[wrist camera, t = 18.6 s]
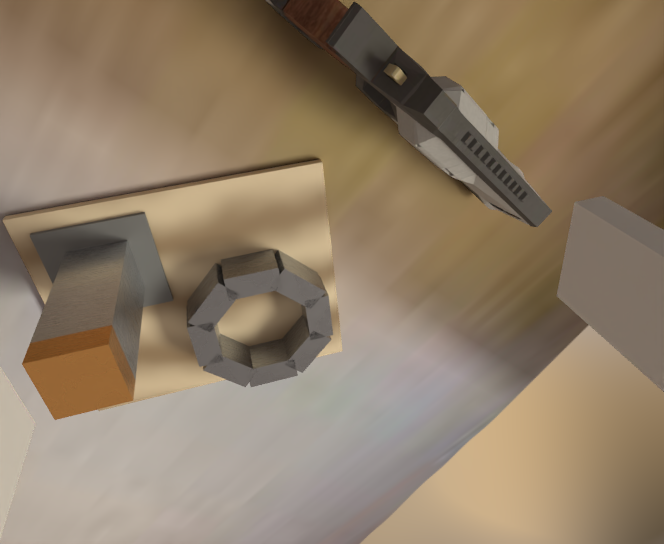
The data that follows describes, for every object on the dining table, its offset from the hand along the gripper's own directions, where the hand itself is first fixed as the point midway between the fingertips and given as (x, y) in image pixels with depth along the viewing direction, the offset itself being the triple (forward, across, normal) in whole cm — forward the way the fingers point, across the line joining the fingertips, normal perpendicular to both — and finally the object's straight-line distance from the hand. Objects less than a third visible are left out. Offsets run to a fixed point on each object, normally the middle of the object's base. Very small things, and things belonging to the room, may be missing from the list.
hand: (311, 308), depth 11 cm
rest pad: (+32, -13, -15) cm, 38 cm away
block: (+31, -13, -15) cm, 37 cm away
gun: (+33, +15, -5) cm, 37 cm away
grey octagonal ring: (+32, -1, -23) cm, 39 cm away
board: (+33, -6, -20) cm, 39 cm away
